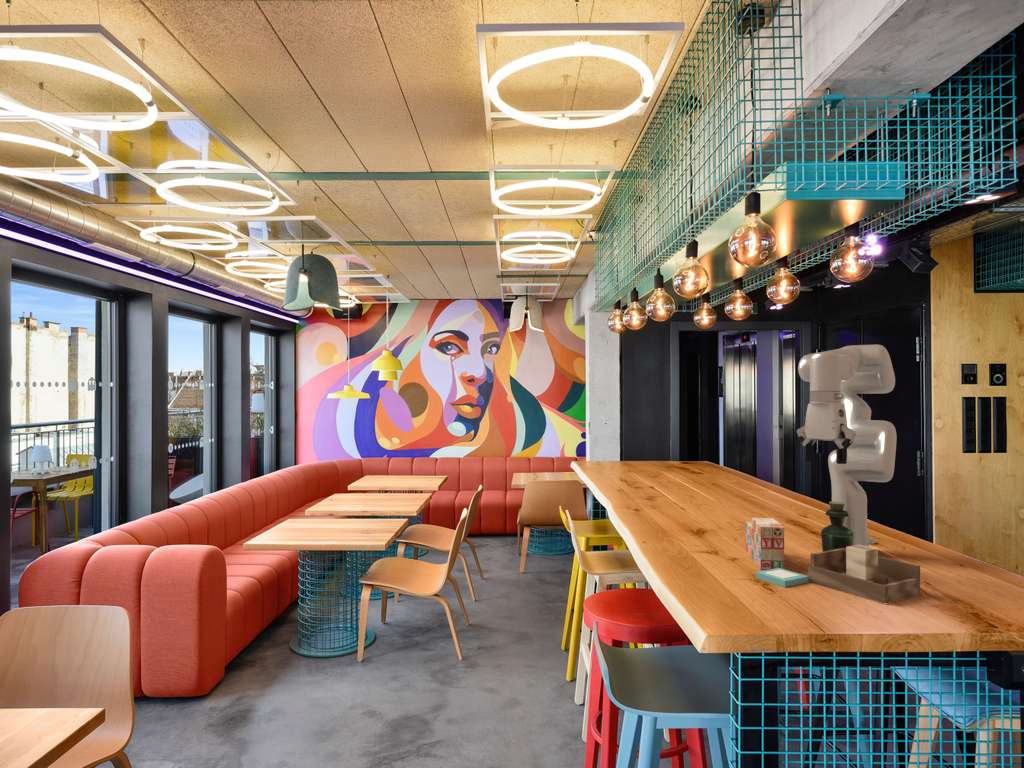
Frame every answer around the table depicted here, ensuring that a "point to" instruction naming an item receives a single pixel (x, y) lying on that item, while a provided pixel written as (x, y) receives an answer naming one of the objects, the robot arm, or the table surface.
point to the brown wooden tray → (887, 587)
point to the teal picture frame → (782, 577)
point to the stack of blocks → (765, 543)
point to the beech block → (862, 562)
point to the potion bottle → (836, 529)
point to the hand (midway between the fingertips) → (825, 462)
